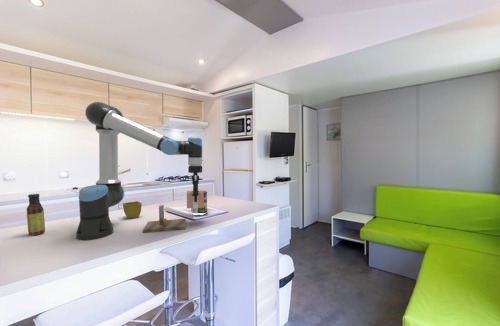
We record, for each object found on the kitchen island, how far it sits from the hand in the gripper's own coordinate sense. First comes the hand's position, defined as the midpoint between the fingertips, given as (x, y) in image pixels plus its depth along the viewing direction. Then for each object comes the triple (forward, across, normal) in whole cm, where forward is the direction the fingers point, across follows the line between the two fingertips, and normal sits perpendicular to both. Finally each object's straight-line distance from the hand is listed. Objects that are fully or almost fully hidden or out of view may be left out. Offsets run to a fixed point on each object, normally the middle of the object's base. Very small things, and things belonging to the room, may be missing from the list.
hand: (195, 205), depth 131 cm
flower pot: (+10, +23, +38) cm, 45 cm away
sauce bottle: (+11, +3, +76) cm, 77 cm away
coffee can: (+10, +20, -2) cm, 22 cm away
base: (+10, -3, +16) cm, 19 cm away
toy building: (0, 0, 0) cm, 0 cm away
